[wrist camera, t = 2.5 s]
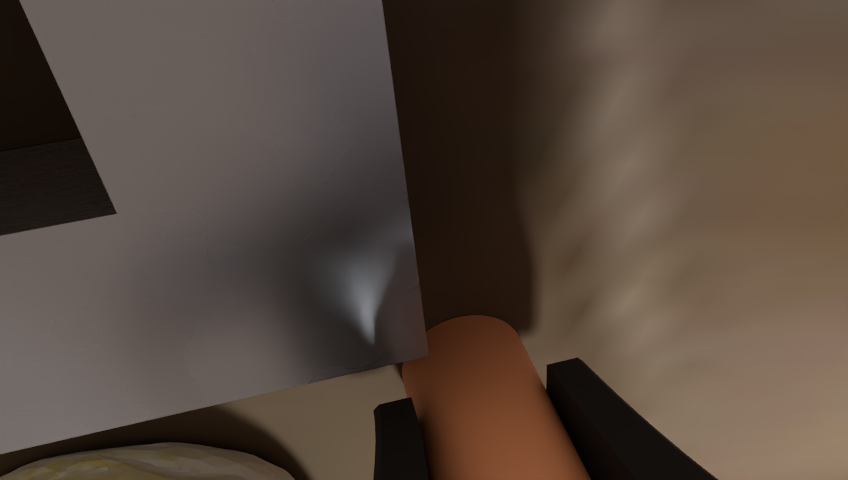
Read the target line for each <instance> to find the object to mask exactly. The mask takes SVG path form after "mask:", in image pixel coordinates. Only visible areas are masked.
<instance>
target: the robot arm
mask: <svg viewBox="0 0 848 480" xmlns="http://www.w3.org/2000/svg"><path fill="white" fill-rule="evenodd" d="M546 391H547V393H548V395H549V397H550V399H551V401H552V403H553V405H554V407H555V409H556V411H557V413H558V415H559V417H560V419H561V421H562V423H563V425H564V427H565V429H566V431H567V433H568V435H569V437H570V439H571V441H572V443H573V445H574V447H575V449H576V451H577V453H578V455H579V457H580V459H581V461H582V463H583V465H584V467H585V469H586V471H587V473H588V474H589V476H590V478H591V480H718V479H717V478H715V477H714V476H713V475H711V474H710V473H709V472H708V471H706V470H705V469H704V468H702V467H701V466H700V465H698V464H697V463H696V462H695V461H694V460H692V459H691V458H690V457H689V456H687V455H686V454H685V453H684V452H682V451H681V450H680V449H679V448H678V447H676V446H675V445H674V444H673V443H672V442H671V441H669V440H668V439H667V438H666V437H665V436H664V435H662V434H661V433H660V432H659V431H658V430H656V429H655V428H654V427H653V426H652V425H651V424H649V423H648V422H647V421H646V420H645V419H644V418H643V417H642V416H640V415H639V414H638V413H637V412H636V411H635V410H634V409H633V408H632V407H630V406H629V405H628V404H627V403H626V402H625V401H624V400H623V399H622V398H621V397H620V396H619V395H617V394H616V393H615V392H614V391H613V390H612V389H611V388H610V387H609V386H608V385H607V384H606V383H605V382H604V381H603V380H602V379H601V378H600V377H599V376H598V375H596V374H595V373H594V372H593V371H592V370H591V369H590V368H589V367H588V366H587V365H586V364H585V363H584V362H583V361H582V360H580V359H579V358H574V359H570V360H566V361H561V362H557V363H553V364H549V365H547V386H546ZM374 417H375V434H376V448H375V467H374V480H429V477H428V470H427V464H426V458H425V452H424V445H423V439H422V433H421V429H420V425H419V422H418V418H417V415H416V411H415V408H414V404H413V401H412V398H411V397H409V398H405V399H401V400H397V401H392V402H388V403H384V404H380V405H378V406H377V407H376V408H375V409H374Z"/></svg>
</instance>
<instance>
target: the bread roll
mask: <svg viewBox="0 0 848 480" xmlns="http://www.w3.org/2000/svg"><path fill="white" fill-rule="evenodd" d="M0 480H294V478H293V477H292V476H291V475H290V474H289V473H288V472H287V471H286V470H284V469H282V468H280V467H278V466H275V465H273V464H271V463H269V462H267V461H264V460H262V459H260V458H258V457H256V456H254V455H251V454H247V453H243V452H239V451H235V450H228V449H221V448H215V447H210V446H204V445H197V444H189V443H173V442H168V443H155V444H150V445H133V446H126V447H119V448H109V449H101V450H93V451H84V452H78V453H72V454H67V455H61V456H56V457H50V458H45V459H41V460H38V461H35V462H32V463H30V464H27V465H24V466H22V467H20V468H18V469H16V470H14V471H12V472H10V473H8V474H6V475H4V476H1V477H0Z"/></svg>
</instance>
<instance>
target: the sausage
mask: <svg viewBox="0 0 848 480" xmlns="http://www.w3.org/2000/svg"><path fill="white" fill-rule="evenodd" d="M426 336H427V344H428V351H429V356H427V357H422V358H418V359H414V360H409V361H405V362H403V365H402V379H403V383H404V387H405V391H406V395H407V398H409V397H411V398H412V401H413V404H414V408H415V411H416V415H417V418H418V422H419V425H420V429H421V433H422V439H423V445H424V452H425V458H426V464H427V470H428V477H429V480H591V478H590V476H589V474H588V473H587V471H586V469H585V467H584V465H583V463H582V461H581V459H580V457H579V455H578V453H577V451H576V449H575V447H574V445H573V443H572V441H571V439H570V437H569V435H568V433H567V431H566V429H565V427H564V425H563V423H562V421H561V419H560V417H559V415H558V413H557V411H556V409H555V407H554V405H553V403H552V401H551V399H550V397H549V395H548V393H547V391H546V389H545V387H544V385H543V383H542V381H541V379H540V377H539V375H538V373H537V371H536V369H535V367H534V365H533V363H532V361H531V360H530V358H529V356H528V354H527V352H526V350H525V348H524V346H523V344H522V342H521V340H520V338H519V336H518V334H517V332H516V331H515V330H514V329H513V328H512V327H511V326H510V325H509V324H507V323H506V322H504V321H502V320H500V319H498V318H494V317H491V316H485V315H467V316H461V317H456V318H453V319H449V320H447V321H444V322H442V323H440V324H438V325H436V326H434V327H432V328H431V329H429V330H428V331H426Z"/></svg>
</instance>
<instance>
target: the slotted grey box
mask: <svg viewBox="0 0 848 480" xmlns="http://www.w3.org/2000/svg"><path fill="white" fill-rule="evenodd" d="M19 1H20V3H21V5H22V7H23V9H24V12H25V14H26V16H27V18H28V20H29V23H30V25H31V27H32V29H33V31H34V33H35V36H36V38H37V40H38V42H39V44H40V46H41V49H42V51H43V53H44V55H45V57H46V60H47V62H48V64H49V66H50V68H51V70H52V73H53V75H54V77H55V79H56V81H57V84H58V86H59V88H60V90H61V92H62V94H63V97H64V99H65V101H66V103H67V105H68V108H69V110H70V112H71V114H72V116H73V118H74V121H75V123H76V125H77V127H78V129H79V131H80V134H81V136H82V138H77V139H71V140H65V141H60V142H54V143H48V144H42V145H37V146H31V147H25V148H19V149H14V150H8V151H2V152H0V454H4V453H8V452H12V451H17V450H21V449H25V448H30V447H34V446H38V445H43V444H47V443H52V442H56V441H60V440H65V439H69V438H73V437H78V436H82V435H86V434H91V433H95V432H100V431H104V430H108V429H113V428H117V427H121V426H126V425H130V424H134V423H139V422H143V421H148V420H152V419H156V418H161V417H165V416H169V415H174V414H178V413H182V412H187V411H191V410H196V409H200V408H204V407H209V406H213V405H217V404H222V403H226V402H230V401H235V400H239V399H244V398H248V397H252V396H257V395H261V394H265V393H270V392H274V391H278V390H283V389H287V388H292V387H296V386H300V385H305V384H309V383H313V382H318V381H322V380H326V379H331V378H335V377H340V376H344V375H348V374H353V373H357V372H361V371H366V370H370V369H374V368H379V367H383V366H387V365H392V364H396V363H401V362H405V361H409V360H414V359H418V358H422V357H427V356H429V351H428V344H427V336H426V329H425V321H424V314H423V306H422V299H421V291H420V284H419V276H418V269H417V261H416V254H415V246H414V239H413V231H412V224H411V216H410V209H409V201H408V194H407V186H406V178H405V171H404V163H403V156H402V148H401V141H400V133H399V126H398V118H397V111H396V103H395V96H394V88H393V81H392V73H391V66H390V58H389V51H388V43H387V36H386V28H385V21H384V13H383V6H382V0H19Z"/></svg>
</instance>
